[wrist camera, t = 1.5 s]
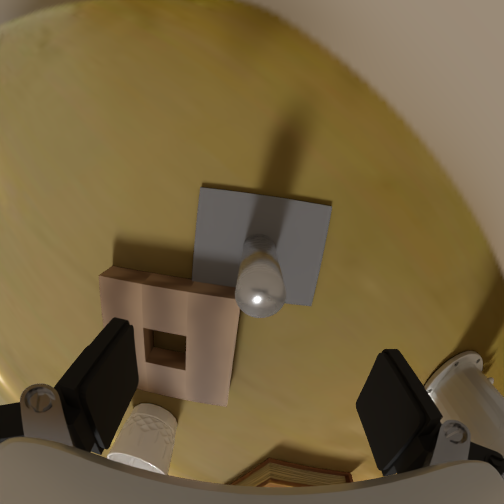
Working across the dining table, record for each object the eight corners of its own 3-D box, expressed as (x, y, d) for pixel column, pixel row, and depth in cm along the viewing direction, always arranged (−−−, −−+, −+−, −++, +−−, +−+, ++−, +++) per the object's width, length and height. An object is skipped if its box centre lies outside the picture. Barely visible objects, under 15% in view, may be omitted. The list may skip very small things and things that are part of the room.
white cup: (144, 432, 35) (126, 480, 25) (121, 399, 33) (95, 448, 23) (189, 433, 34) (177, 486, 25) (168, 399, 32) (148, 456, 23)
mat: (331, 206, 25) (332, 206, 25) (310, 304, 28) (311, 306, 28) (201, 187, 25) (200, 187, 25) (191, 288, 28) (191, 290, 27)
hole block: (242, 286, 28) (241, 299, 25) (228, 389, 31) (226, 406, 28) (112, 265, 27) (98, 275, 24) (121, 367, 31) (112, 381, 28)
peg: (277, 236, 26) (290, 274, 16) (272, 267, 26) (281, 320, 17) (244, 231, 26) (237, 267, 16) (240, 263, 26) (232, 314, 17)
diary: (282, 508, 44) (283, 527, 39) (210, 494, 42) (207, 514, 37) (350, 470, 39) (356, 493, 33) (269, 455, 36) (269, 483, 31)
